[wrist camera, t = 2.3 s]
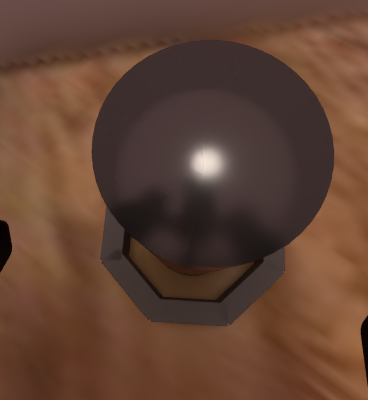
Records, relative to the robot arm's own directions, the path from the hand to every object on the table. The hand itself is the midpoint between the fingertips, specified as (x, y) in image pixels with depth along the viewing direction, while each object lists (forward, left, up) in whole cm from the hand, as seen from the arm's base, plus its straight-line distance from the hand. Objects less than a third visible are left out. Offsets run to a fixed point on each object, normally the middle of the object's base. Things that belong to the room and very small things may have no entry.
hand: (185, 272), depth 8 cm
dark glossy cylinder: (+2, +1, -10) cm, 10 cm away
